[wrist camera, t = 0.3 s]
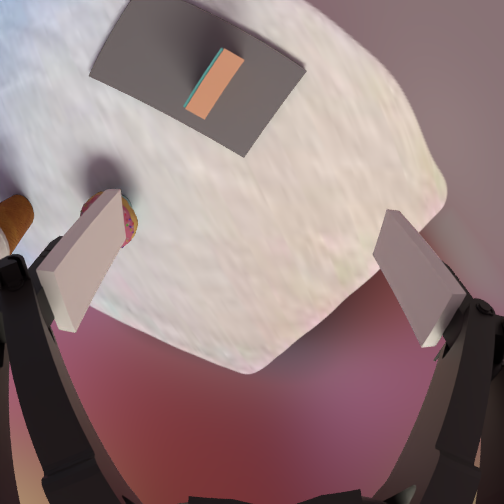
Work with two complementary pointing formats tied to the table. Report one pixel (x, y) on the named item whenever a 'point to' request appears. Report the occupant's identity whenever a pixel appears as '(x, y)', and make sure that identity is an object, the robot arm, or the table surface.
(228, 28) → the mat
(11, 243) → the disposable coffee cup
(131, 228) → the cupcake
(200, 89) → the tile
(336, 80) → the table surface
